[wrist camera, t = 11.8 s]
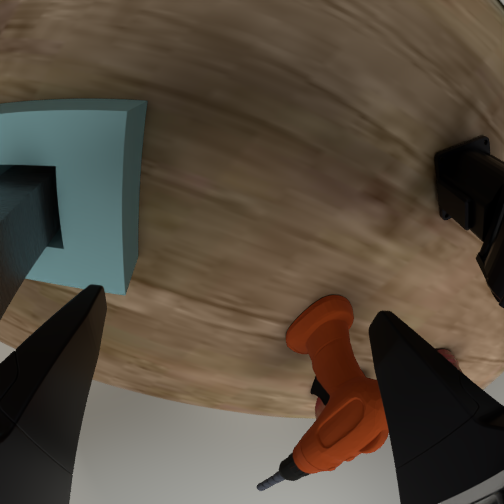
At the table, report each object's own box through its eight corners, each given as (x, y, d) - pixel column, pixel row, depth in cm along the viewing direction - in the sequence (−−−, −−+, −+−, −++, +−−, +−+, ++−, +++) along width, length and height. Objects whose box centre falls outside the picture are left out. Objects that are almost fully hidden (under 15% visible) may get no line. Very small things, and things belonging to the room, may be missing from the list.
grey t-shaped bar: (77, 140, 17) (-58, 256, 6) (79, 216, 20) (-6, 361, 9) (32, 139, 16) (-102, 243, 5) (38, 212, 20) (-56, 340, 9)
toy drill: (225, 398, 34) (242, 511, 21) (320, 282, 28) (397, 418, 14) (259, 405, 36) (283, 510, 23) (356, 298, 29) (432, 417, 16)
